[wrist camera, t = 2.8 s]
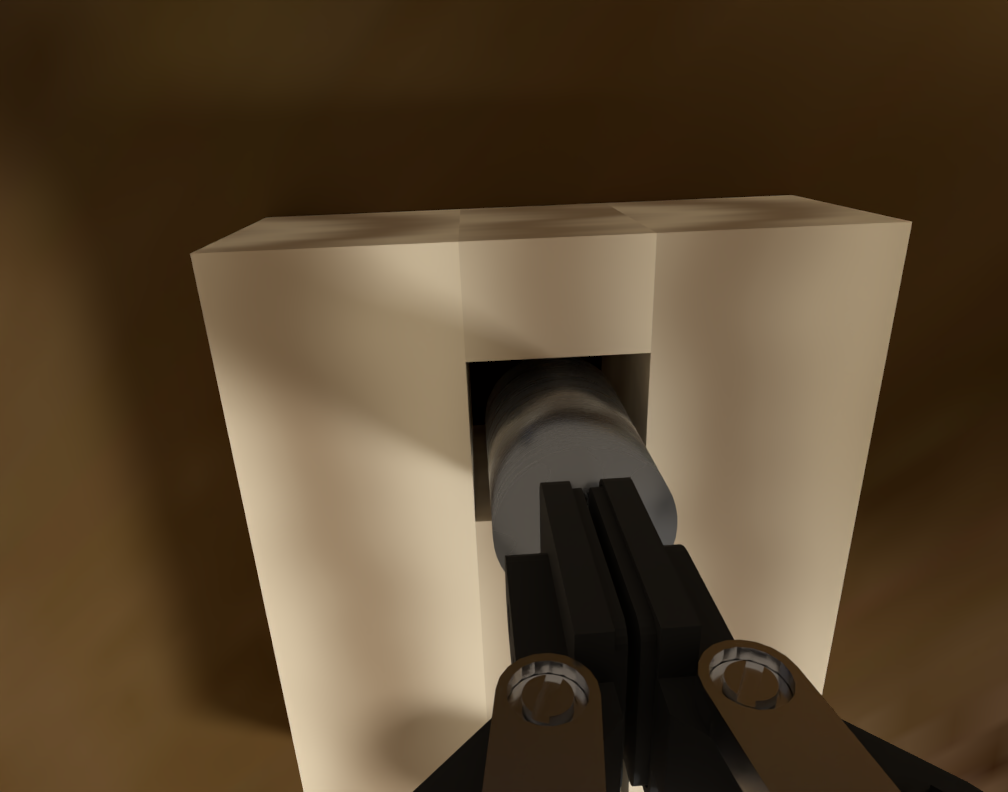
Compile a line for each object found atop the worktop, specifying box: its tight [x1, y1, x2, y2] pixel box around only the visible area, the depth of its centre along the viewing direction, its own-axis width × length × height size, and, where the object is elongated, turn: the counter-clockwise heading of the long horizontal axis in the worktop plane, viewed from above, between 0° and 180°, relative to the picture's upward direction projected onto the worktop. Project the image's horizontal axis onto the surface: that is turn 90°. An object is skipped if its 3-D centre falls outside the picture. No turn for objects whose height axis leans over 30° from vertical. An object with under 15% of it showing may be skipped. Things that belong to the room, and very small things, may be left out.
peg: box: [485, 357, 677, 572], centre depth 16 cm, size 4×4×6 cm
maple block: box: [190, 195, 912, 792], centre depth 22 cm, size 16×22×6 cm
